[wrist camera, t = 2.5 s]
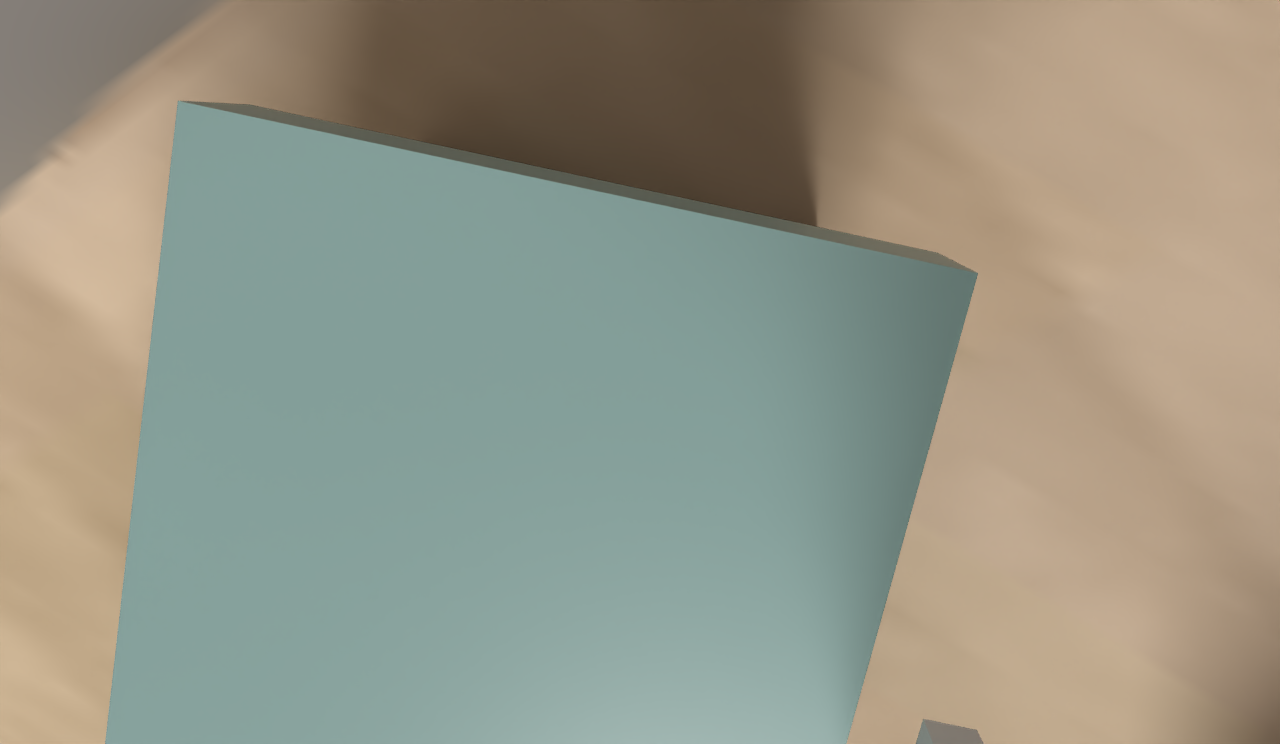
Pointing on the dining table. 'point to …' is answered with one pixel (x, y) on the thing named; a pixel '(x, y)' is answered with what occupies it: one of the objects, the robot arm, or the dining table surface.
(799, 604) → the lid
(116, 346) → the dining table surface
